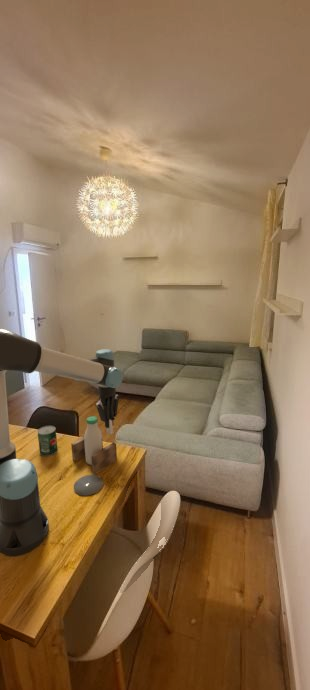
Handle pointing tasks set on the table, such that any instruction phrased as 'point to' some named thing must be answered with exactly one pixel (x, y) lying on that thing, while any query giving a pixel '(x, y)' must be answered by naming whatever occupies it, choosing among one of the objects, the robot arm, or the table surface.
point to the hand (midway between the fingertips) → (109, 432)
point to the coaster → (88, 485)
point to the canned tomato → (47, 440)
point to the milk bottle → (92, 439)
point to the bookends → (95, 455)
